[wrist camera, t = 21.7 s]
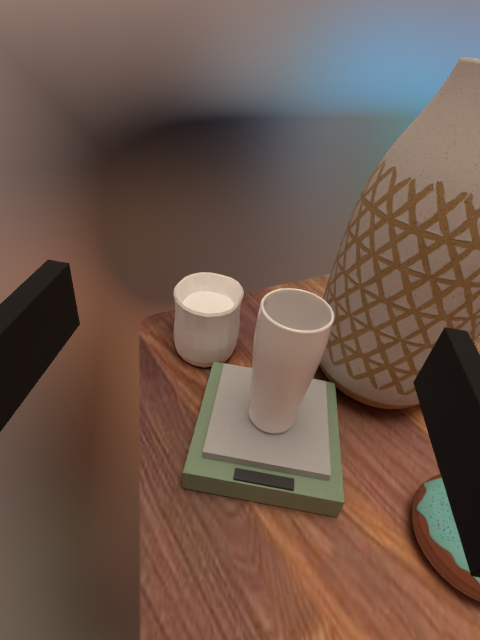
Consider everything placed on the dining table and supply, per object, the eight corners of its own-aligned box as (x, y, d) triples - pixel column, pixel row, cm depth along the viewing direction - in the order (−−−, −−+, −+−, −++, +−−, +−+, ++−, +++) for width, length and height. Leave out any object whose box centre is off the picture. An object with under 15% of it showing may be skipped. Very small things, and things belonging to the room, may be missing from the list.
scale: (181, 488, 40) (182, 466, 38) (211, 377, 53) (213, 355, 51) (336, 517, 40) (347, 497, 37) (329, 398, 52) (337, 377, 50)
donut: (440, 466, 46) (456, 445, 44) (551, 555, 39) (576, 537, 37) (382, 528, 39) (396, 509, 37) (502, 649, 33) (529, 635, 30)
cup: (227, 321, 63) (233, 269, 57) (247, 364, 56) (256, 309, 50) (167, 328, 60) (167, 273, 54) (180, 374, 53) (182, 317, 47)
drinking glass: (295, 393, 47) (325, 289, 38) (306, 442, 42) (344, 334, 33) (239, 392, 46) (256, 285, 37) (243, 441, 41) (264, 331, 32)
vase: (376, 324, 67) (487, 58, 44) (464, 405, 54) (686, 90, 31) (282, 345, 60) (354, 41, 37) (357, 445, 47) (543, 74, 24)
